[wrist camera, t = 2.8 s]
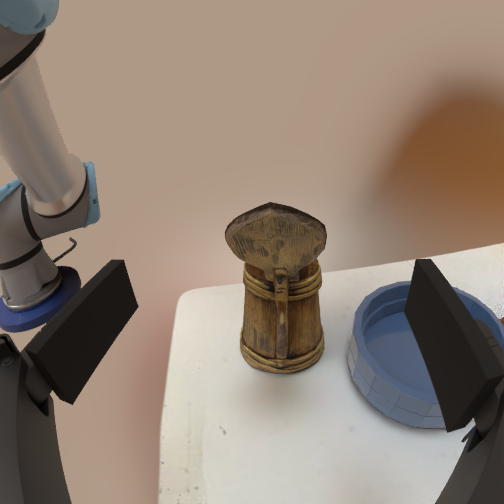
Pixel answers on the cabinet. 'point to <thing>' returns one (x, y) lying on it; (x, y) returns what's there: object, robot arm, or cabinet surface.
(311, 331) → the wooden mug
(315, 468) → the cabinet surface
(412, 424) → the bowl
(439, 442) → the cabinet surface
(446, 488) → the robot arm
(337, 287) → the cabinet surface
